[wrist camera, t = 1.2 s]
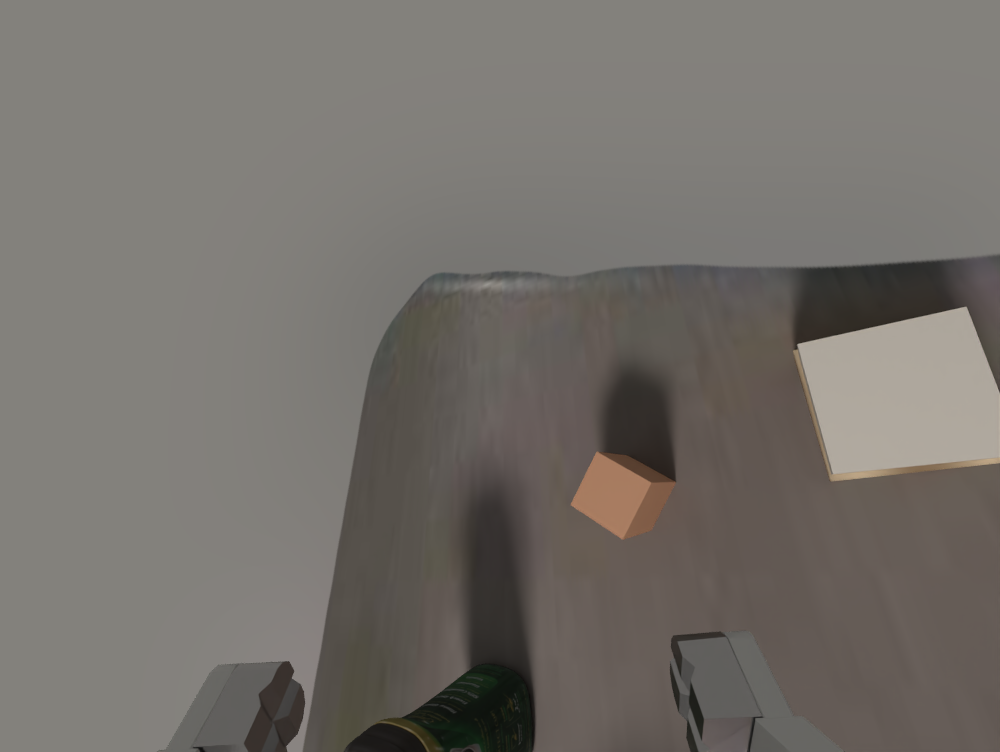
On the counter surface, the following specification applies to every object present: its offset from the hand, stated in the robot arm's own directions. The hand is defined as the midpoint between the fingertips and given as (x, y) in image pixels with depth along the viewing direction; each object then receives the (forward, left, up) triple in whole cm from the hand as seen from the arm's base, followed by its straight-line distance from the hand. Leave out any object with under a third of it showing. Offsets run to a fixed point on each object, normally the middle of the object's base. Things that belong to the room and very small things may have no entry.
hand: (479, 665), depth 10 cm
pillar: (+7, -4, -37) cm, 38 cm away
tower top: (-13, -8, -33) cm, 37 cm away
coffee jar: (+25, +16, -37) cm, 48 cm away
